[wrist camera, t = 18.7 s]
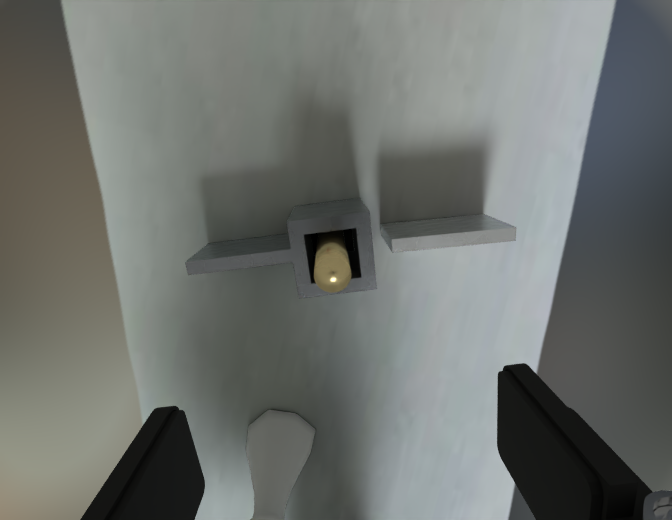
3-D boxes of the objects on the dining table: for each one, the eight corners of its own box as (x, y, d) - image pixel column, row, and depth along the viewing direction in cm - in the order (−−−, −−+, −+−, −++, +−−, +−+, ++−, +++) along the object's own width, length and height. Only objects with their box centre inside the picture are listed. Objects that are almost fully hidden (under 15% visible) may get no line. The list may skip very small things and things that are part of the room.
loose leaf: (483, 225, 32) (515, 240, 26) (381, 235, 32) (392, 252, 26) (484, 214, 31) (516, 227, 26) (380, 224, 31) (391, 239, 26)
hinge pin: (344, 244, 32) (353, 290, 22) (320, 247, 32) (316, 294, 22) (341, 219, 31) (349, 254, 21) (316, 223, 31) (311, 259, 21)
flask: (264, 397, 37) (243, 485, 27) (327, 424, 38) (328, 518, 28) (234, 448, 38) (204, 548, 29) (295, 473, 40) (286, 576, 30)
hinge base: (366, 260, 33) (376, 289, 26) (216, 278, 33) (188, 312, 26) (360, 197, 31) (369, 211, 24) (202, 217, 31) (168, 236, 24)
